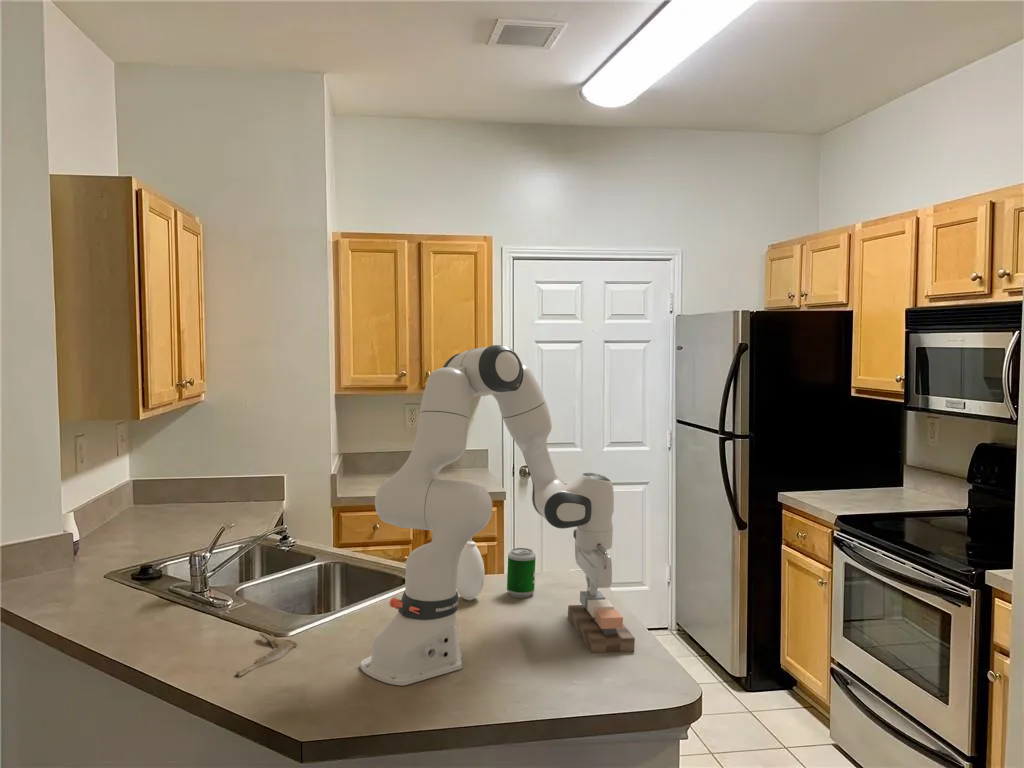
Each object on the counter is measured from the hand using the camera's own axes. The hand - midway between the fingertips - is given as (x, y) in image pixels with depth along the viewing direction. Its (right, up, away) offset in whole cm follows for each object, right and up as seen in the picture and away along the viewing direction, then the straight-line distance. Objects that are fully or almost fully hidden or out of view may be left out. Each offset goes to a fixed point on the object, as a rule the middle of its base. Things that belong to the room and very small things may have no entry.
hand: (592, 593), depth 195 cm
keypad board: (+1, -8, -7) cm, 10 cm away
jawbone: (-75, -7, -26) cm, 80 cm away
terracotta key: (+2, -7, -14) cm, 15 cm away
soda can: (-18, -5, +19) cm, 26 cm away
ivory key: (+1, -6, -7) cm, 9 cm away
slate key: (0, -6, 0) cm, 6 cm away
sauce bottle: (-31, -5, +14) cm, 35 cm away
